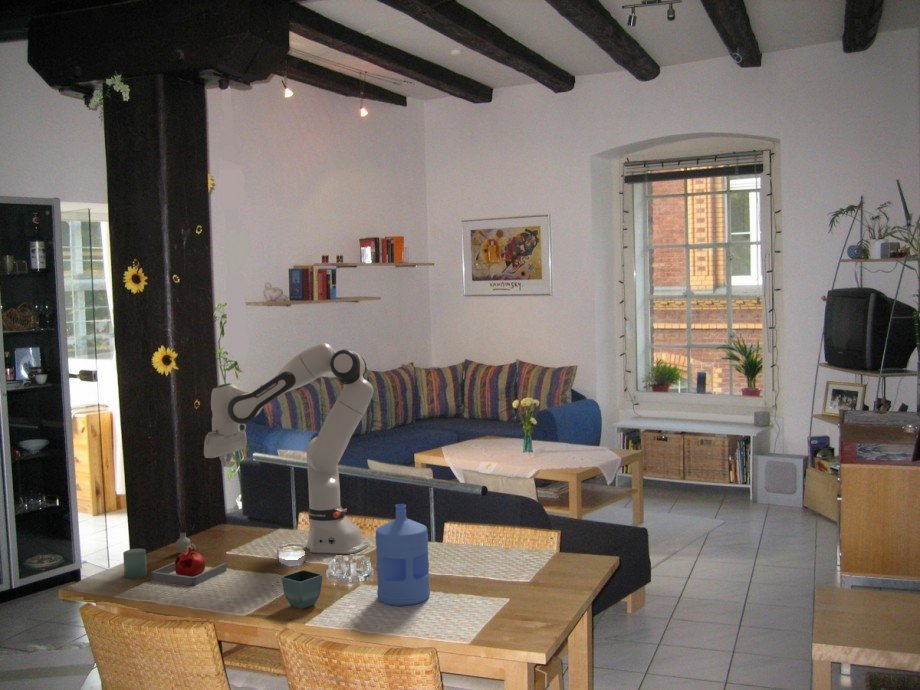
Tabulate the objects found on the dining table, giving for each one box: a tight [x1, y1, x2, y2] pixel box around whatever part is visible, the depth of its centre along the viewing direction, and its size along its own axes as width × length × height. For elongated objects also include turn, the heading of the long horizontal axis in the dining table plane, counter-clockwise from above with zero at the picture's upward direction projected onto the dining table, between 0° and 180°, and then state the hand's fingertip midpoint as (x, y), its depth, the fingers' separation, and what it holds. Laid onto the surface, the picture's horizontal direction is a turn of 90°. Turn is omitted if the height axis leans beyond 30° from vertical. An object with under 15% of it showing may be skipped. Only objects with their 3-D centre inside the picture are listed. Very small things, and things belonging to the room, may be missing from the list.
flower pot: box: [281, 569, 323, 610], centre depth 267 cm, size 9×9×9 cm
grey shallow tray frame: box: [149, 561, 228, 587], centre depth 299 cm, size 18×16×2 cm
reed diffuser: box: [171, 496, 197, 554], centre depth 324 cm, size 10×7×20 cm
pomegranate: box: [174, 547, 206, 577], centre depth 300 cm, size 10×10×9 cm
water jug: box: [375, 503, 431, 607], centre depth 271 cm, size 16×16×28 cm
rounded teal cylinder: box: [122, 548, 148, 580], centre depth 300 cm, size 7×7×8 cm
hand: (226, 465), depth 331 cm, fingers closed
